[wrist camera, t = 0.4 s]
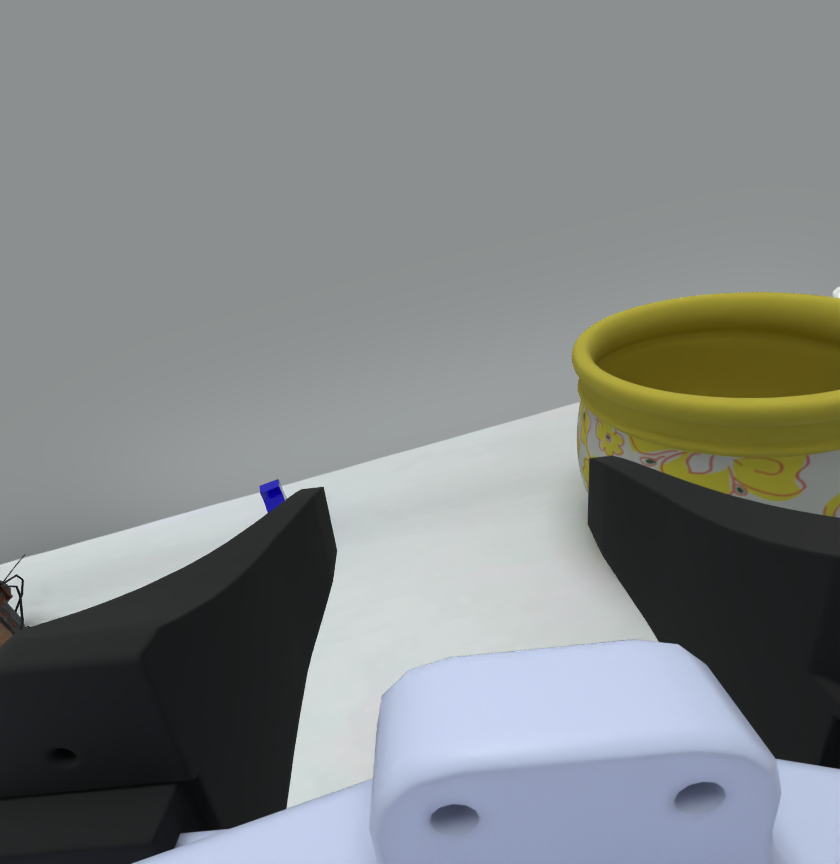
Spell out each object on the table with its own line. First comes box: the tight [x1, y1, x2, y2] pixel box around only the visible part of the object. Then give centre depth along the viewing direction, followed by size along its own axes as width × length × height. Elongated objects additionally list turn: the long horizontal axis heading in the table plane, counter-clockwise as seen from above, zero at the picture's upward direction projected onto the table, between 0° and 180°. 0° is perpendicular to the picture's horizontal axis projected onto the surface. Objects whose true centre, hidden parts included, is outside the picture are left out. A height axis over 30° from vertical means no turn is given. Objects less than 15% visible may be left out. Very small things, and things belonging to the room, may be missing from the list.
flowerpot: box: [572, 292, 840, 518], centre depth 31 cm, size 18×18×16 cm
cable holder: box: [260, 479, 287, 513], centre depth 45 cm, size 8×4×4 cm, turn 21°
